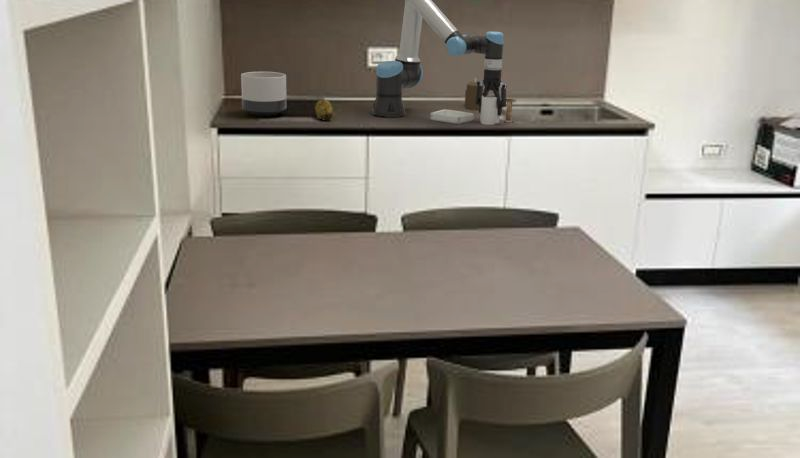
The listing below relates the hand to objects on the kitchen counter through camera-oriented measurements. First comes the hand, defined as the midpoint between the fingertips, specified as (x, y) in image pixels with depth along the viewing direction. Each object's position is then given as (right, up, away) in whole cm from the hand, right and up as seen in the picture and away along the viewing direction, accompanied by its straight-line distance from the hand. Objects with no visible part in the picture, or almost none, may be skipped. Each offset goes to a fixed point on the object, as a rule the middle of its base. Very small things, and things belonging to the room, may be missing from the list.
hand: (489, 121), depth 346 cm
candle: (-2, +11, +36) cm, 38 cm away
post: (+9, +1, +5) cm, 10 cm away
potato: (-73, +1, -3) cm, 73 cm away
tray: (-16, +1, +5) cm, 17 cm away
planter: (-99, +3, +2) cm, 99 cm away
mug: (-1, -1, +1) cm, 1 cm away
